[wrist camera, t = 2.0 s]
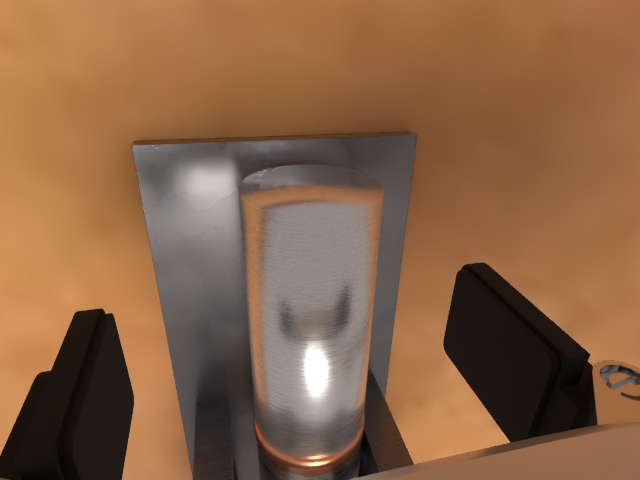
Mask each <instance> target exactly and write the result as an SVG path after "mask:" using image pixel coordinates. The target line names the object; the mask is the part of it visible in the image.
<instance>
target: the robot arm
mask: <svg viewBox="0 0 640 480" xmlns="http://www.w3.org/2000/svg"><path fill="white" fill-rule="evenodd" d="M443 344H444V349H445V352H446V354H447V355H448V357H449V358H450V359H451V361H452V362H453V364H454V365H455V366H456V368H457V369H458V371H459V372H460V373H461V375H462V376H463V377H464V379H465V380H466V382H467V383H468V384H469V386H470V387H471V388H472V390H473V391H474V393H475V394H476V395H477V397H478V398H479V400H480V401H481V402H482V404H483V405H484V406H485V408H486V409H487V411H488V412H489V413H490V415H491V416H492V417H493V419H494V420H495V422H496V423H497V424H498V426H499V427H500V429H501V430H502V431H503V433H504V434H505V435H506V437H507V438H508V440H509V441H510V442H511V443H508V444H503V445H499V446H494V447H490V448H485V449H481V450H476V451H472V452H467V453H463V454H458V455H454V456H450V457H445V458H441V459H436V460H432V461H428V462H423V463H419V464H415V465H410V466H406V467H402V468H397V469H393V470H389V471H384V472H380V473H376V474H371V475H367V476H363V477H358V478H354V479H350V480H640V369H638V368H637V367H635V366H632V365H629V364H627V363H624V362H619V361H614V360H604V361H600V362H597V363H596V364H595V365H594V366H592V365H591V364H590V363H589V362H588V359H589V356H590V354H589V353H588V352H587V351H586V350H585V349H584V348H582V347H581V346H580V345H579V344H578V343H577V342H576V341H574V340H573V339H572V338H571V337H570V336H569V335H568V334H566V333H565V332H564V331H563V330H562V329H561V328H559V327H558V326H557V325H556V324H555V323H554V322H553V321H551V320H550V319H549V318H548V317H547V316H546V315H545V314H543V313H542V312H541V311H540V310H539V309H538V308H537V307H535V306H534V305H533V304H532V303H531V302H530V301H529V300H527V299H526V298H525V297H524V296H523V295H522V294H521V293H519V292H518V291H517V290H516V289H515V288H514V287H513V286H511V285H510V284H509V283H508V282H507V281H506V280H505V279H503V278H502V277H501V276H500V275H499V274H498V273H497V272H495V271H494V270H493V269H492V268H491V267H490V266H489V265H487V264H486V263H474V264H466V265H464V266H463V267H462V269H461V270H460V271H458V273H457V275H456V281H455V286H454V291H453V296H452V301H451V306H450V311H449V316H448V321H447V326H446V331H445V336H444V342H443ZM133 407H134V396H133V390H132V386H131V382H130V378H129V374H128V370H127V366H126V362H125V358H124V354H123V351H122V347H121V343H120V339H119V335H118V331H117V327H116V323H115V319H114V316H113V314H112V313H110V314H105V312H104V310H103V309H102V308H101V309H93V310H85V311H77V312H76V313H75V314H74V316H73V319H72V321H71V324H70V326H69V328H68V331H67V333H66V336H65V338H64V341H63V343H62V345H61V348H60V350H59V353H58V355H57V358H56V360H55V362H54V365H53V367H52V370H51V371H46V372H41V373H39V374H38V375H37V376H36V378H35V380H34V382H33V384H32V386H31V388H30V391H29V393H28V395H27V397H26V400H25V402H24V404H23V406H22V408H21V411H20V413H19V415H18V417H17V420H16V422H15V424H14V426H13V429H12V431H11V433H10V435H9V437H8V440H7V442H6V444H5V446H4V449H3V451H2V453H1V455H0V480H122V474H123V468H124V462H125V456H126V450H127V444H128V438H129V432H130V426H131V420H132V414H133Z"/></svg>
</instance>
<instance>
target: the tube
mask: <svg viewBox="0 0 640 480" xmlns="http://www.w3.org/2000/svg"><path fill="white" fill-rule="evenodd" d="M238 193H239V206H240V220H241V233H242V246H243V260H244V273H245V287H246V300H247V314H248V327H249V340H250V354H251V367H252V381H253V394H254V408H255V411H254V423H255V435H256V440H257V448H258V461H259V475H260V480H350V479H354V478H358V475H359V463H360V452H361V442H362V438H363V431H364V419H365V412H364V407H365V396H366V384H367V373H368V362H369V351H370V339H371V328H372V317H373V306H374V294H375V283H376V272H377V260H378V249H379V238H380V227H381V215H382V204H383V193H384V188H383V185H382V184H381V183H380V182H379V181H378V180H377V179H376V178H374V177H372V176H370V175H368V174H366V173H363V172H361V171H357V170H354V169H350V168H345V167H339V166H332V165H319V164H299V165H287V166H280V167H274V168H269V169H265V170H262V171H259V172H256V173H254V174H251V175H250V176H248V177H246V178H245V179H243V180H242V181H241V183H240V184H239V187H238Z"/></svg>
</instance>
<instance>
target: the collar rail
mask: <svg viewBox="0 0 640 480" xmlns="http://www.w3.org/2000/svg"><path fill="white" fill-rule="evenodd" d="M416 138H417V135H416V134H414V133H412V132H390V133H361V134H333V135H304V136H276V137H247V138H218V139H190V140H161V141H134V143H133V144H132V151H133V156H134V162H135V167H136V172H137V178H138V183H139V189H140V194H141V199H142V205H143V210H144V216H145V221H146V226H147V232H148V237H149V243H150V248H151V254H152V259H153V264H154V270H155V275H156V281H157V286H158V291H159V297H160V302H161V308H162V313H163V318H164V324H165V329H166V335H167V340H168V345H169V351H170V356H171V362H172V367H173V373H174V378H175V383H176V389H177V394H178V400H179V405H180V410H181V416H182V421H183V427H184V432H185V437H186V443H187V448H188V454H189V459H190V465H191V470H192V475H193V480H260V475H259V461H258V448H257V440H256V435H255V423H254V411H255V408H254V394H253V381H252V367H251V354H250V340H249V327H248V314H247V300H246V287H245V273H244V260H243V246H242V233H241V220H240V206H239V193H238V187H239V184H240V183H241V181H242V180H243V179H245V178H246V177H248V176H250V175H251V174H254V173H256V172H259V171H262V170H265V169H269V168H274V167H280V166H287V165H299V164H319V165H332V166H339V167H345V168H350V169H354V170H357V171H361V172H363V173H366V174H368V175H370V176H372V177H374V178H376V179H377V180H378V181H379V182H380V183H381V184H382V185H383V188H384V193H383V204H382V215H381V227H380V238H379V249H378V260H377V272H376V283H375V294H374V306H373V317H372V328H371V339H370V351H369V362H368V373H367V384H366V396H365V407H364V412H365V419H364V431H363V438H362V442H361V452H360V463H359V475H358V477H363V476H367V475H371V474H376V473H380V472H384V471H389V470H393V469H397V468H402V467H406V466H410V465H414V463H413V461H412V459H411V457H410V455H409V452H408V450H407V448H406V446H405V443H404V441H403V439H402V437H401V434H400V432H399V430H398V428H397V426H396V423H395V421H394V419H393V417H392V414H391V412H390V410H389V408H388V406H387V403H386V401H385V393H386V385H387V377H388V368H389V360H390V352H391V344H392V335H393V327H394V319H395V311H396V302H397V294H398V286H399V278H400V269H401V261H402V253H403V245H404V237H405V228H406V220H407V212H408V204H409V195H410V187H411V179H412V171H413V162H414V154H415V146H416Z"/></svg>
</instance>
